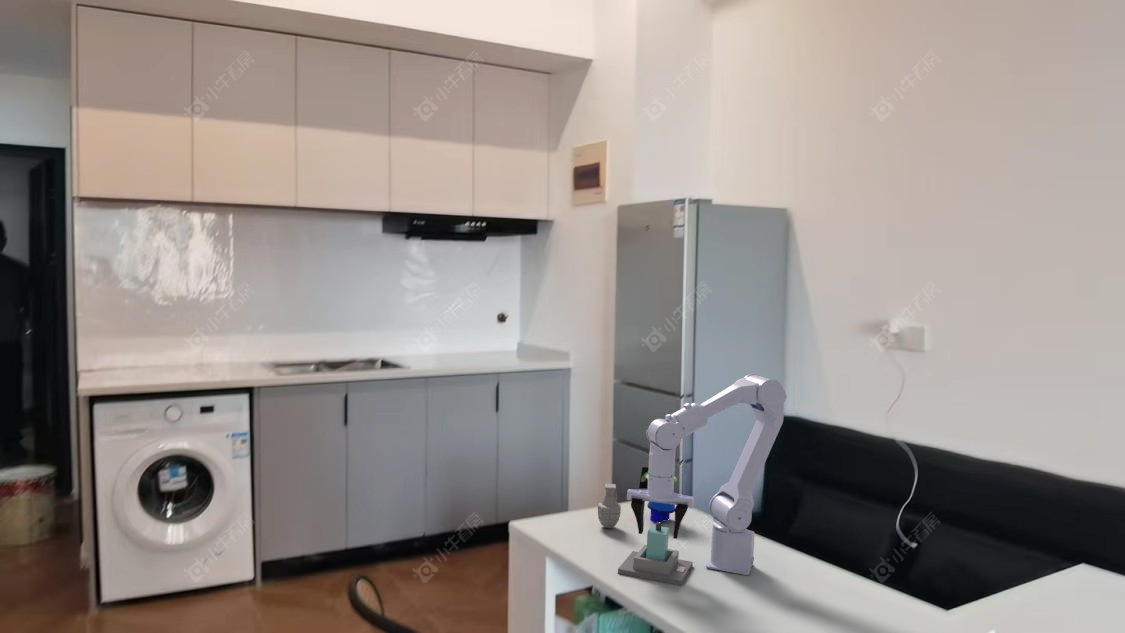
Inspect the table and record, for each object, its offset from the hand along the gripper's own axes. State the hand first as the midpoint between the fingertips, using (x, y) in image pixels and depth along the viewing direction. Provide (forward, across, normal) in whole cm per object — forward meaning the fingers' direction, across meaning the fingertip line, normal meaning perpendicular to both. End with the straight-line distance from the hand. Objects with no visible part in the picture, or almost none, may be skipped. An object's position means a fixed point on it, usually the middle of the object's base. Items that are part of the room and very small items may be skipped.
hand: (658, 534), depth 171 cm
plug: (+7, 0, 0) cm, 7 cm away
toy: (+8, +5, -36) cm, 37 cm away
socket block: (+8, 0, 0) cm, 8 cm away
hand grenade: (+8, +16, -24) cm, 30 cm away
